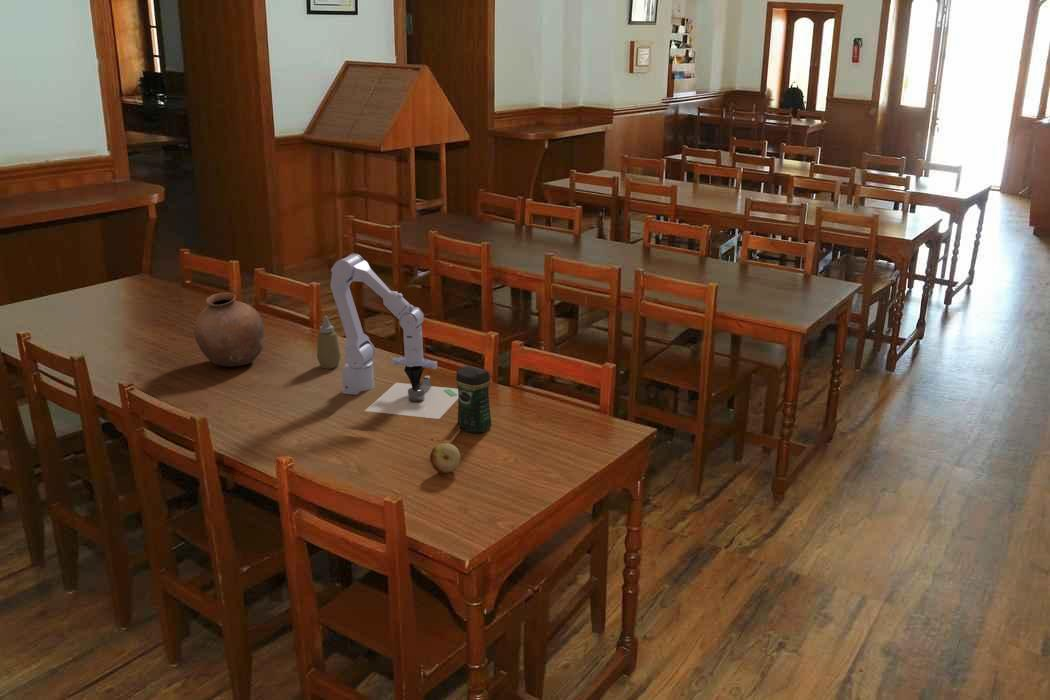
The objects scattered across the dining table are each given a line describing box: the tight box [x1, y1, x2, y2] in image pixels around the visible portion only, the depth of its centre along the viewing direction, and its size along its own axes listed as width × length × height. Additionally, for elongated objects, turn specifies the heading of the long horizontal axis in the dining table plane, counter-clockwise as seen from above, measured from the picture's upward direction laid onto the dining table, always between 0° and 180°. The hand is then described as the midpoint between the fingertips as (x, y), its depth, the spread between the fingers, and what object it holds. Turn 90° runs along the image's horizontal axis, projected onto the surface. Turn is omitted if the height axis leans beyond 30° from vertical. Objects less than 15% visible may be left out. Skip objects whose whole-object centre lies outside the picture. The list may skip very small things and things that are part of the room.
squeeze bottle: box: [316, 315, 342, 370], centre depth 324 cm, size 8×8×18 cm
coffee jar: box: [455, 364, 492, 434], centre depth 275 cm, size 10×8×19 cm
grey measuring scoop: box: [408, 375, 432, 402], centre depth 297 cm, size 12×5×4 cm, turn 164°
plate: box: [364, 382, 458, 420], centre depth 294 cm, size 24×24×2 cm
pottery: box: [193, 292, 265, 368], centre depth 327 cm, size 23×23×25 cm
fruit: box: [429, 442, 461, 474], centre depth 250 cm, size 8×8×8 cm
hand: (415, 387), depth 300 cm, fingers closed
